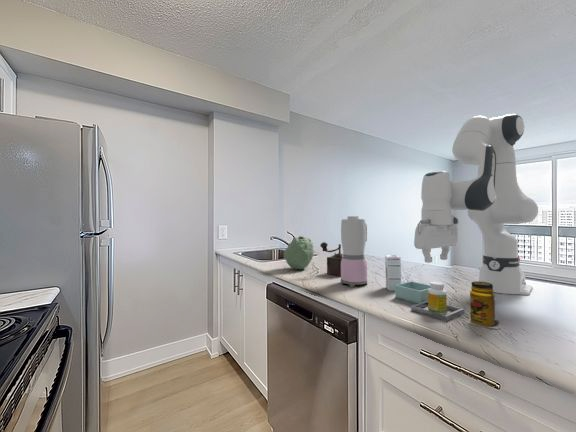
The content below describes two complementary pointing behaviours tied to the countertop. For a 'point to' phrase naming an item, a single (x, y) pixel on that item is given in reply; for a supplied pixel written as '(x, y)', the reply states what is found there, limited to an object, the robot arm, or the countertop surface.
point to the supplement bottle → (437, 298)
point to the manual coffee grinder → (333, 261)
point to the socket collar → (447, 317)
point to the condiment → (482, 305)
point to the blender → (353, 251)
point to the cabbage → (299, 253)
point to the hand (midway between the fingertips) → (436, 261)
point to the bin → (412, 292)
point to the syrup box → (392, 271)
